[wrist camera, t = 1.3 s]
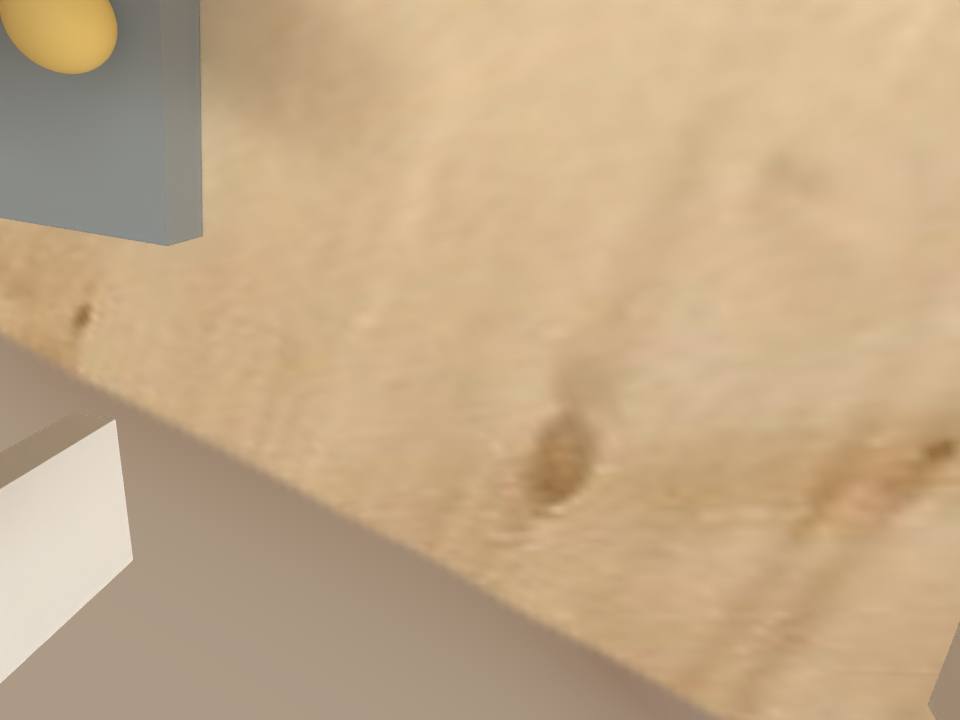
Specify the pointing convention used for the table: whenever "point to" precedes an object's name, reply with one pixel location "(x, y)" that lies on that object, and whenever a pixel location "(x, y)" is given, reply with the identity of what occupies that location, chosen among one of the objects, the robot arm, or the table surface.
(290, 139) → the table surface
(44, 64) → the ball
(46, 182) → the board
